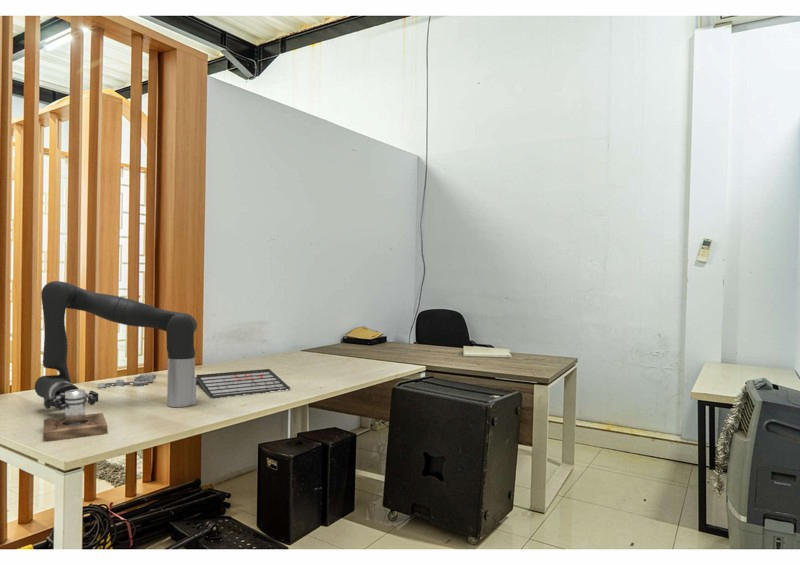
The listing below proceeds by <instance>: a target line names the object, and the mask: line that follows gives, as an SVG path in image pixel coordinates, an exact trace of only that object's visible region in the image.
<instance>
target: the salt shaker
mask: <svg viewBox="0 0 800 565" xmlns="http://www.w3.org/2000/svg"><path fill="white" fill-rule="evenodd" d="M85 393H86V389H82V388H79V389H75V390H68V391H66V392H65V408H64V409H65V410H64V411H65V412H64V417H65V425H80V424H84V423H85V415H86V403H85Z"/></svg>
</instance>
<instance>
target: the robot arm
mask: <svg viewBox="0 0 800 565" xmlns="http://www.w3.org/2000/svg"><path fill="white" fill-rule="evenodd" d="M40 295H41V305H42V312H43V328H44V334H43V335H44V337H43V338H44V339H43V354H42V355H43V357H42V358H43V359H42V366H43V368H45V369H50V370H56V371H57V372H58V374H55V375H53V374H52V375H51V374H50V375H42V376H40V377H38V378H37V380H36V381H35V383H34V391H35V393H36V395H37V396H39V397H40V398H43V403H42V404H43V406H44V408H45V409H50V408H51V407H52V408H53V409H57V410H62V409H65V392H66V391H68V390H75V389H80V388H79V387H78V386H77V385H75V384H74V383H72V381H71V377H70V373H69V369H68V363H67V362H68V348H69V347H68V345H69V344H68V336H67V332H66V325H65V323H66V322H65V317H66V315H65V314H66V310H67V309H70V310H77V311H83V312H87V313H90V314H92V315H94V316H96V317H99V318H101V319H104V320H106V321H109V322H112V323H116V324H120V325H125V326H131V327H137V328H138V327H139V328H151V329H157V330H159V331H163V332H166V352H167V393H166V394H167V398H166V400H167V401H166V403H167V404H166V405H167V406H168V407H170V408H171V407H172V408H185V407H191V406H193V405H194V406H195V405H196V404H197V385H196V378H195V377H196V375H195V374H196V371H195V370H196V367H195V365H196V349H195V338H194V337H195V332H196V331H197V327H198V324H197V320H196V319H195V317H194V316H192V315H191V314H188V313H185V312H177V311H171V310H167V309H162V308H158V307H156V306H153V305H150V304H147V303H145V302H144V303H143V302H141V301H138V300H135V299H131V298H126V297H123V296H118V295H112V294H107V293H101V292H100V293H99V292H94V291H90V290H87V289H85V288H81V287H79V286H77V285H74V284H72V283H69V282H66V281H59V280H54V281H50V282H48V283H46V284H45V285H44V286H43V288H42V289H41V293H40ZM97 402H99V393H98V392H96V391H94V390H89V391H88V393H87V392H85V404H89V405H90V406H93V405H94V404H96V403H97Z"/></svg>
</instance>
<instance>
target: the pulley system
mask: <svg viewBox="0 0 800 565" xmlns="http://www.w3.org/2000/svg"><path fill="white" fill-rule="evenodd" d="M155 378H157V374H156V373H140V374H139V376H135V377H134V378H133V381H125V380H124V379H116V380H115V382H100V383H99V382H98V384H97V386H96V388H99V390H101V389H100V388H104V389H107V388H106V387H109V388H111V387H110V386H113V387H116V386H122V387H124V386H125V385H132V386H131V387H145V386H144V385H146V386H148V385H147V384H148V382H153V381H154V379H155ZM130 383H133V384H130ZM111 384H114V385H111ZM115 385H116V386H115ZM123 385H124V386H123ZM105 386H106V387H105Z"/></svg>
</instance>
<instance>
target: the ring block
mask: <svg viewBox="0 0 800 565" xmlns="http://www.w3.org/2000/svg"><path fill="white" fill-rule="evenodd" d="M103 433H107V434H108V423H107V420H106V418H105V416H104V413H103V412H99V413H90V414H85V423H84V424H80V425H65V416H63V417H54V418H52V417H51V418H45V419H43V442H44V441H45V442H50V441H52V440H53V441H60V440H59V439H61V440H66V439H67V438H68V439H75V438H74V437H76V438H82V436H84V437H90V436H89V435H92V436H97V434H99V435H104V434H103Z"/></svg>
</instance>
